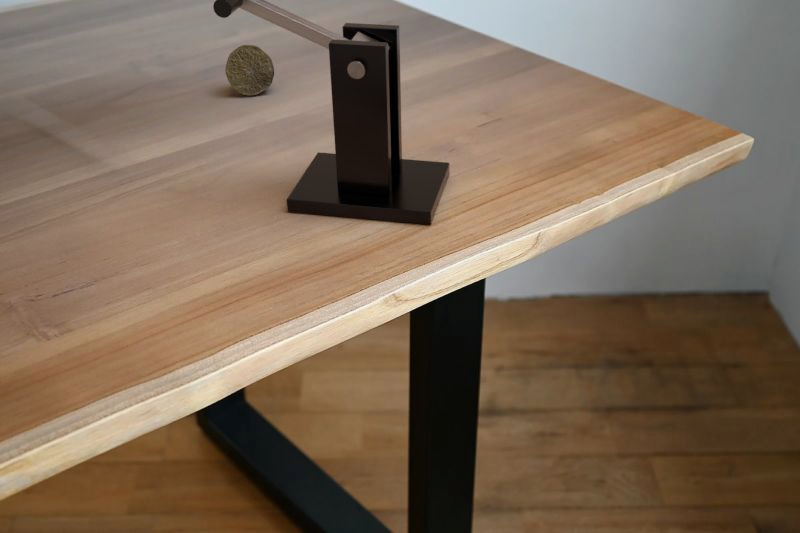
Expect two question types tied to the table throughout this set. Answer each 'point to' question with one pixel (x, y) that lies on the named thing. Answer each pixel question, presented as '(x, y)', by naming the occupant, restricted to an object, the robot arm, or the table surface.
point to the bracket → (368, 140)
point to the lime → (249, 70)
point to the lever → (284, 20)
